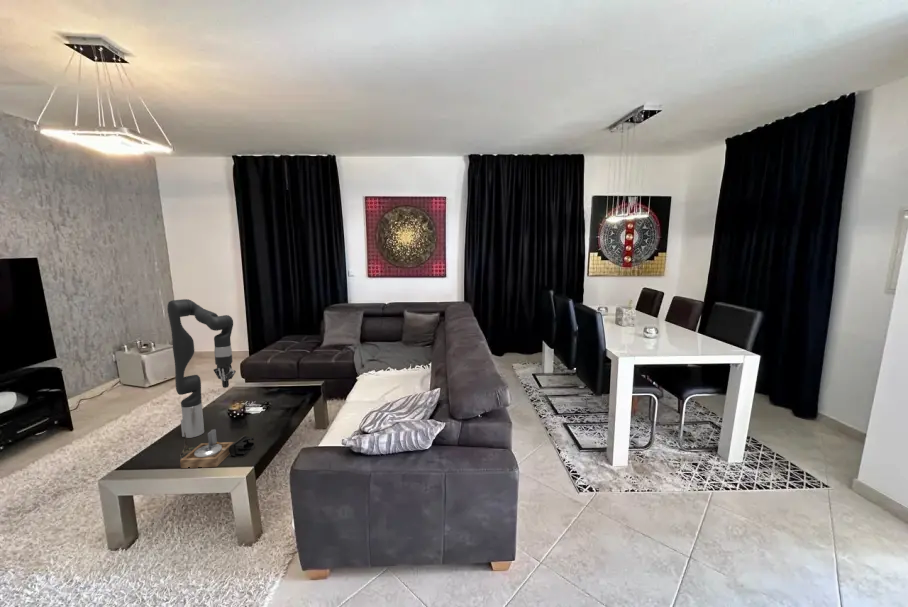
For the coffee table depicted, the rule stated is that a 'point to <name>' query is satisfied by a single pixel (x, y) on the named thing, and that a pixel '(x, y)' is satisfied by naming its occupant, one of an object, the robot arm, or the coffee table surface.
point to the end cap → (241, 446)
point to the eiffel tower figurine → (185, 451)
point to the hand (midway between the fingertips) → (225, 387)
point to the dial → (209, 447)
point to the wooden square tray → (205, 462)
